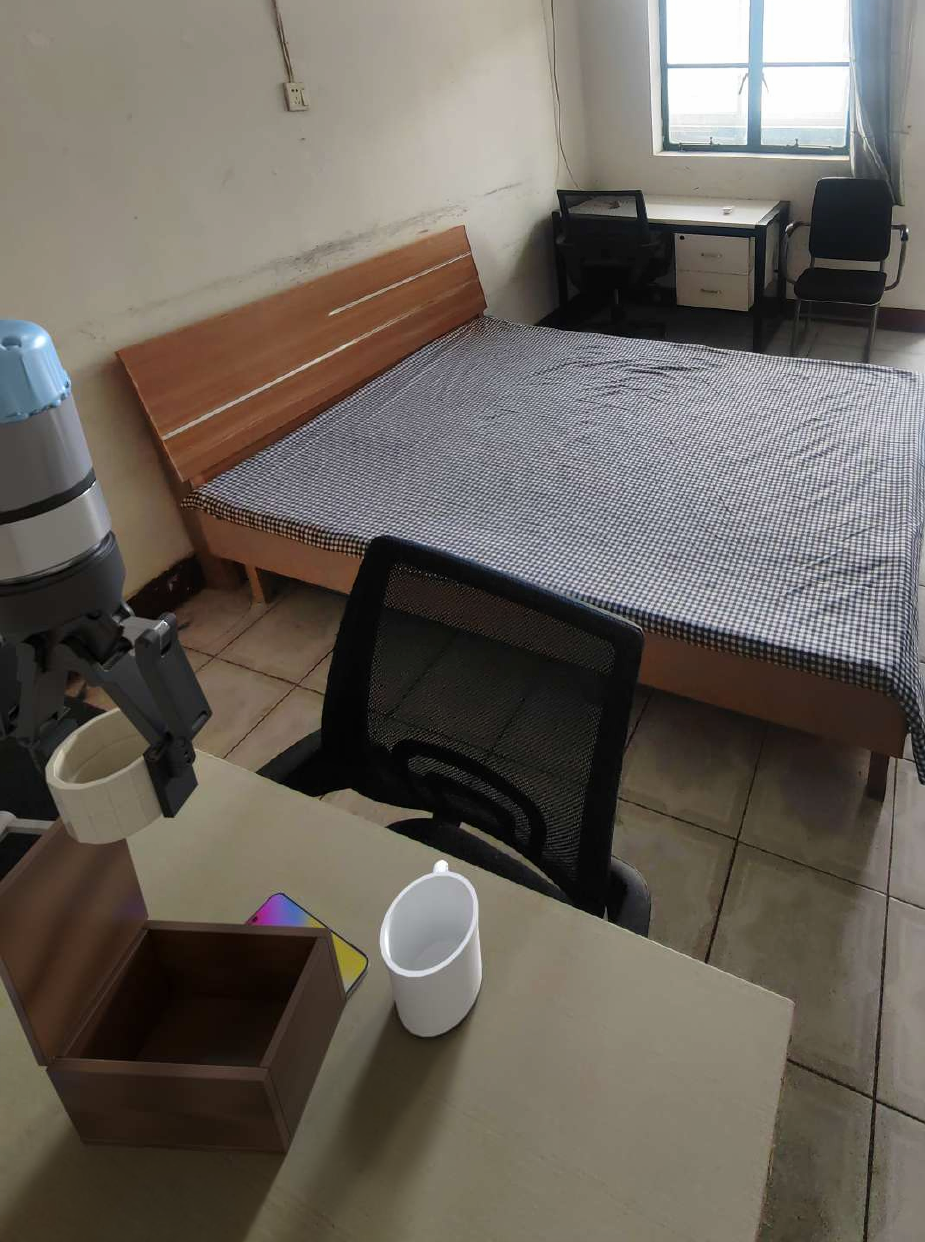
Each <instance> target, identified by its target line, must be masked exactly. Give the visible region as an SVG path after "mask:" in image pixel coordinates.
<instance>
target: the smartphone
mask: <svg viewBox="0 0 925 1242" xmlns="http://www.w3.org/2000/svg"><path fill="white" fill-rule="evenodd" d="M243 924H252V925H274V926H296V927H318V928H330V929H331V933H332V937H333V942H334V946H335V950H336V954H337V959H338V963H339V967H340V971H341V976H342V980H343V984H344V988H345V992H346V996H347V999H349V997H350V996H351V995H352V993H353V992H354V991H355V989H356V988H357V987H358V985H359V984H360V983H361V982H362V980H363V979H364V977H365V976H366V975H367V973H368V972H369V970H370V964H371V962H370V959H369V956H368V954H367V953H365V952H364V951H362V950H361V949H360V948H359V947H357V946H355V945H354V944H353V943H352V942H351V941H349V940H348V939H346V938H345V937H344V936H342V935H341V934H340V933H338V931H336V930H335V929H333V928H332V927H331V926H329V925H328V924H326V923H325V922H323V920H321V919H320V918H318V917H317V916H316V915H315V914H313V913H311V912H310V911H309V910H308V909H306V908H305V907H303V906H302V905H301V904H300V903H298V901H296V900H294V899H293V898H292V897H290V896H289V895H288V894H286V893H285V892H283V891H277V892H275V893H273V894H271V895H270V896H269V897H267V899H266V900H265V901H264V902H263V903H262V904H261V905H260V906H259V907H258V908H257V909H256V910H255V911H254V913H252V915H250V917H249V918H248V919H247V920H246V921H244V923H243Z"/></svg>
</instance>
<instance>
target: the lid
mask: <svg viewBox="0 0 925 1242" xmlns="http://www.w3.org/2000/svg"><path fill="white" fill-rule="evenodd" d="M9 833H16V834H28V835H41V836H40V838H38V840H37V841H35V843H34V844H33V845H32V846H31V847H30V848H29V850H28V851H27V852H26V853H25V854H24V855H23V857H21V858H20V860H19V861H18V862H17V863H16V864H15V865H14V867H13V868H12V869H11V870H10V871H9V872H7V874H6V875H5V877H3V879H2V880H1V881H0V979H1V981H2V984H3V986H4V988H5V990H6V993H7V995H8V997H9V1000H10V1002H11V1005H12V1007H13V1009H14V1012H15V1014H16V1016H17V1019H18V1021H19V1023H20V1026H21V1029H22V1031H23V1033H24V1035H25V1038H26V1040H27V1042H28V1045H29V1046H30V1047H29V1048H30V1049H31V1052H32V1054H33V1057H34V1059H35V1062H36V1064H37V1066H38V1067H46V1068H47V1067H48V1065H49V1064H50V1063H51V1061H52V1060H53V1058H55V1055H56V1054H57V1052H58V1051H59V1049H60V1048H61V1046H62V1045H63V1043H64V1042H65V1040H66V1039H67V1037H68V1036H69V1034H70V1033H71V1031H72V1030H73V1028H74V1027H75V1025H76V1024H77V1022H78V1021H79V1020H80V1018H81V1017H82V1015H83V1014H84V1012H85V1011H86V1009H87V1008H88V1006H89V1005H90V1003H91V1002H92V1000H93V999H94V997H95V996H96V994H97V993H98V991H99V990H100V988H101V987H102V985H103V984H104V982H105V981H106V979H107V978H108V977H109V975H110V974H111V972H112V971H113V969H114V968H115V966H116V965H117V963H118V962H119V960H120V959H121V957H122V956H123V954H124V953H125V951H126V950H127V948H128V947H129V945H130V944H131V942H132V941H133V939H134V938H135V936H136V935H137V933H138V932H139V931H140V930H141V928H142V926H143V925H144V923H145V922H146V920H149V917H150V916H149V911H148V908H147V904H146V901H145V898H144V895H143V892H142V888H141V884H140V881H139V877H138V874H137V871H136V867H135V864H134V860H133V857H132V854H131V850H130V847H129V843H128V839H127V837H126V838H124V839H121V840H118V841H115V842H111V843H106V844H90V843H79V842H78V841H76V840H75V839H74V838H72V837H71V836H70V835H68V832H67V830H66V828H65V825H64V823H63V820H62V818H61V816H60V815H59V816H58V817H57V818H56V820H55V821H52V820H39V819H28V818H27V819H26V818H17V817H16V816H15V815H14V814H13V813H12V812H9V811H6V810H5V811H4V810H0V842H1V841H3V840H4V839H5V837H6V836H7V835H8V834H9Z"/></svg>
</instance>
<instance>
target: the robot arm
mask: <svg viewBox="0 0 925 1242" xmlns="http://www.w3.org/2000/svg"><path fill="white" fill-rule="evenodd" d="M71 387H72V381H71V378H70V376H69V375H68V373H67V370H65V369H63V366H62V364H61V361H60V359H59V356H58V352H57V350H56V348H55V345H54V343H53V340H52V338H51V335H50V334H49V332H48V331H46V330H45V329H44V328H43V326H40V325H38V324H37V323H35V322H31V321H29V320H25V319H17V318H16V319H15V318H0V741H4V740H5V739H6V738H8V737H14V738H15V741H16V743H17V744H18V745H19V746H20V747H22V748H27V749H28V751H29V754H30V757H31V759H32V761H33V763H34V767H35V769H36V770H37V771H38V772H39V773H40V774H42V776H43V778H44V781H45V783H46V786H47V788H48V791H49V793H50V795H51V798H52V801H53V803H54V806H55V808H56V811H57V813H58V814H59V815H60V813H59V811H58V808H57V806H56V804H55V801H54V799H53V796H52V794H51V792H50V789H49V787H48V784H47V782H46V771H45V768H46V765H47V763H48V762H49V760H50V758H51V756H52V754H53V752H54V751H55V749H56V748H57V747H58V746H59V745H60V744H61V743H62V742H63V741H64V740H65V739H66V738H67V737H68V736H69V735H70V734H71V733H72V732H74V731H75V730H77V729H78V728H79V726H78V723H77V721H76V718H65V719H64V720H62V721H61V723H60V724H58V722H59V721H60V720H61V719H62V718H63V717H64V716H65V715H66V714H67V713H68V712H69V711H70V710H71V707H67V706H66V705H64V704H65V697H66V689H67V684H68V683H67V682H68V674H69V672H75V673H77V674H78V675H79V676H80V677H81V679H83V680H84V681H85V683H86V684H87V685H88V687H90V688H93V689H94V688H101V689H102V690H103V691H104V693H105V694H106V695H107V696H108V697H109V698H110V699H111V700H112V702H113V703H114V704H115V705H116V707H117V708H119V709H120V710H121V711H122V712H123V714H124V715H125V716H126V717H127V718H128V719H129V721H130V722H131V723H132V724H133V725H134V727H135V728H136V729H137V730H138V731H139V732H140V734H141V735H142V736H143V737H144V738H145V740H146V741H147V742H148V743H149V744H150V746H149V747H148V748H147V749H146V751H145V752H144V753H143V757H144V760H145V763H146V766H147V769H148V772H149V775H150V778H151V781H152V784H153V787H154V790H155V793H156V796H157V799H158V801H159V804H160V807H161V810H162V813H163V814H162V816H163V818H164V819H174V818H175V817H176V816H177V814H178V813H179V811H180V810H181V808H182V807H183V806H184V805H185V803H186V802H187V801H188V799H189V798H190V797H191V795H192V794H193V792H194V791H195V790H196V788H197V787H198V786H199V782H198V779H197V775H196V772H195V769H194V765H193V764H194V763H195V761H196V759H197V755H196V751H195V748H194V745H193V740H194V739H195V738H196V736H197V735H198V734H199V732H200V731H201V730H202V729H203V727H205V725H206V724H207V722H208V721H210V719H211V717H212V716H213V710H212V708H211V706H210V703H209V702H208V699H207V698H206V695H205V693H204V691H203V689H202V687H201V684H200V682H199V680H198V678H197V676H196V673H195V672H194V669H193V667H192V665H191V663H190V661H189V658H188V657H187V654H186V653H185V650H184V648H183V646H182V644H181V642H180V641H181V640H180V639H179V621H178V617H177V616H176V615H175V614H174V613H172V612H168V611H167V612H163V613H162V614H161V615H159V616H158V618H157V619H155V620H154V619H148V618H145V617H144V618H143V617H138V616H136V614H135V611H134V610H133V608H132V607H131V606H129V605H128V603H127V602H126V601H125V599H124V598H123V589H124V586H125V585H124V584H125V580H126V577H127V576H126V575H127V570H126V565H125V562H124V559H123V556H122V552H121V550H120V547H119V543H118V540H117V537H116V534H115V533H114V532H113V530H111V528H112V525H113V522H112V519H111V516H110V513H109V510H108V507H107V504H106V502H105V497H104V495H103V492H102V489H101V486H100V483H99V480H98V477H97V475H96V472H95V469H94V464H93V461H92V458H91V457H92V456H91V454H90V450H89V447H88V444H87V440H86V437H85V433H84V429H83V426H82V423H81V419H80V417H79V412H78V409H77V406H76V402H75V399H74V395H73V391H72V388H71ZM112 657H113V658H112ZM103 665H104V666H103ZM11 708H12V709H11ZM10 709H11V710H10ZM9 710H10V711H9Z"/></svg>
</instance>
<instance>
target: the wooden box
mask: <svg viewBox="0 0 925 1242" xmlns="http://www.w3.org/2000/svg"><path fill="white" fill-rule="evenodd" d="M330 928H331V927H330ZM330 928H318V927H296V926H274V925H252V924H244V923H227V922H209V921H208V922H205V921H185V920H161V919H160V920H159V919H147V920H146V922H145V923H144V925H143V926H142V928H141V929H140V931H139V932H138V933H137V935H136V936H135V938H134V939H133V941H132V942H131V944H130V945H129V947H128V948H127V950H126V951H125V953H124V954H123V956H122V957H121V959H120V960H119V962H118V963H117V965H116V966H115V968H114V969H113V971H112V972H111V974H110V975H109V977H108V978H107V979H106V981H105V982H104V984H103V985H102V987H101V988H100V990H99V991H98V993H97V994H96V996H95V997H94V999H93V1000H92V1002H91V1003H90V1005H89V1006H88V1008H87V1009H86V1011H85V1012H84V1014H83V1015H82V1017H81V1018H80V1020H79V1021H78V1022H77V1024H76V1025H75V1027H74V1028H73V1030H72V1031H71V1033H70V1034H69V1036H68V1037H67V1039H66V1040H65V1042H64V1043H63V1045H62V1046H61V1048H60V1049H59V1051H58V1052H57V1054H56V1055H55V1057H54V1058H53V1060H52V1061H51V1063H50V1064H49V1065H48V1066H47V1067H46V1068H45V1073H46V1075H47V1076H48V1079H49V1081H50V1082H51V1084H52V1086H53V1088H54V1091H55V1092H56V1094H57V1097H58V1098H59V1100H60V1102H61V1104H62V1106H63V1108H64V1110H65V1113H66V1114H67V1116H68V1118H69V1120H70V1122H71V1124H72V1126H73V1128H74V1130H75V1132H76V1135H77V1136H78V1138H79V1140H80V1143H81V1145H84V1146H85V1145H86V1146H87V1145H88V1146H104V1147H105V1146H106V1147H122V1148H123V1147H125V1148H140V1149H141V1148H143V1149H158V1150H159V1149H160V1150H161V1149H162V1150H177V1151H178V1150H179V1151H180V1150H181V1151H198V1152H216V1153H217V1152H218V1153H219V1152H220V1153H233V1154H234V1153H235V1154H236V1153H237V1154H251V1155H252V1154H253V1155H254V1154H255V1155H271V1156H272V1155H273V1156H287V1155H288V1152H289V1150H290V1147H291V1144H292V1142H293V1140H294V1137H295V1134H296V1132H297V1130H298V1127H299V1125H300V1122H301V1118H302V1116H303V1114H304V1111H305V1109H306V1107H307V1103H308V1102H309V1099H310V1096H311V1093H312V1091H313V1089H314V1085H315V1084H316V1080H317V1078H318V1075H319V1073H320V1070H321V1068H322V1065H323V1063H324V1060H325V1058H326V1056H327V1052H328V1049H329V1047H330V1045H331V1042H332V1040H333V1037H334V1034H335V1031H336V1029H337V1026H338V1024H339V1021H340V1019H341V1017H342V1015H343V1011H344V1009H345V1007H346V1003H347V1001H348V998H347V996H346V992H345V988H344V984H343V980H342V976H341V971H340V967H339V963H338V959H337V954H336V950H335V946H334V942H333V937H332V933H331V929H330Z"/></svg>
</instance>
